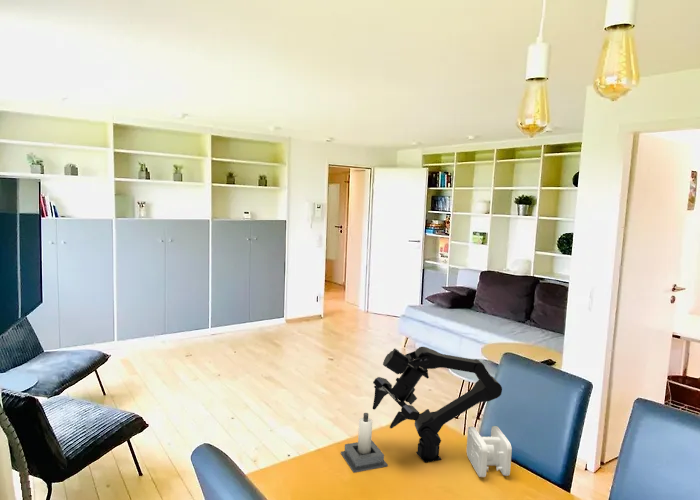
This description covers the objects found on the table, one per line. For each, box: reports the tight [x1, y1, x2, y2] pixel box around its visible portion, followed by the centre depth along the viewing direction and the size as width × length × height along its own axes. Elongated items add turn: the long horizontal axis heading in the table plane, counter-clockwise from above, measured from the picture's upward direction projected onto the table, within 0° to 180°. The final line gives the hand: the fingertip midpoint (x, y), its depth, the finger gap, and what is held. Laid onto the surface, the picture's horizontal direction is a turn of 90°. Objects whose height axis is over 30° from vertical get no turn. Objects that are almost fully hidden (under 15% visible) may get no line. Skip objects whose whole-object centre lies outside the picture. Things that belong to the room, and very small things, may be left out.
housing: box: [340, 439, 389, 474], centre depth 155 cm, size 12×12×4 cm
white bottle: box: [357, 412, 373, 456], centre depth 154 cm, size 5×5×15 cm
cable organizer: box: [466, 425, 513, 478], centre depth 152 cm, size 15×11×12 cm
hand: (381, 418), depth 156 cm, fingers open, 9 cm apart
